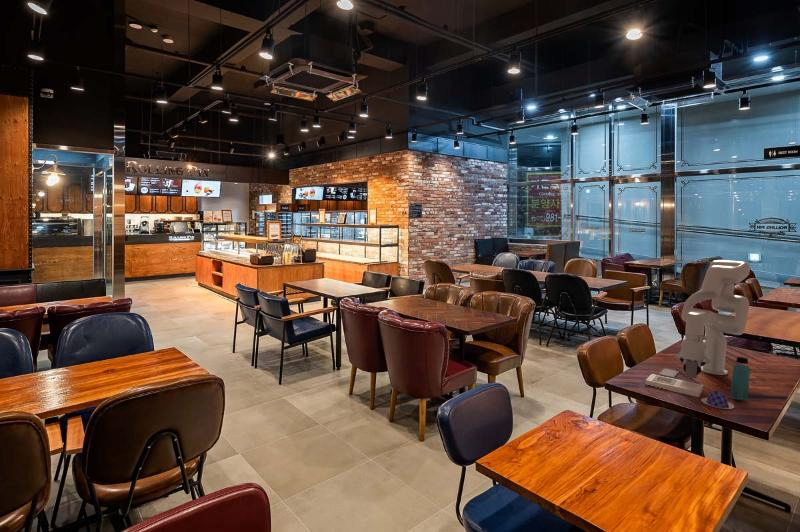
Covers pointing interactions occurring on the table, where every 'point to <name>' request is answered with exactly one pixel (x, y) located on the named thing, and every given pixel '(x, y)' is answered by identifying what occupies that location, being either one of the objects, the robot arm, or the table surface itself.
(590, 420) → the table surface
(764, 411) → the table surface
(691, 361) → the charger
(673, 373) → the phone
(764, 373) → the table surface
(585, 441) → the table surface
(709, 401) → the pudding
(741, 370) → the beverage bottle
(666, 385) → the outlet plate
